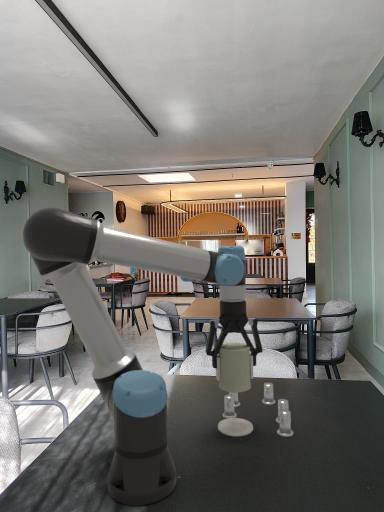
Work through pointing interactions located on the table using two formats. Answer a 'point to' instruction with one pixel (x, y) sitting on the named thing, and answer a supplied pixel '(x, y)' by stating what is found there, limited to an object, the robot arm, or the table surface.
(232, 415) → the posts
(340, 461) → the table surface
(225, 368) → the can
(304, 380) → the table surface
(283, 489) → the table surface
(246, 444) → the table surface
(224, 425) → the beige flat disc
